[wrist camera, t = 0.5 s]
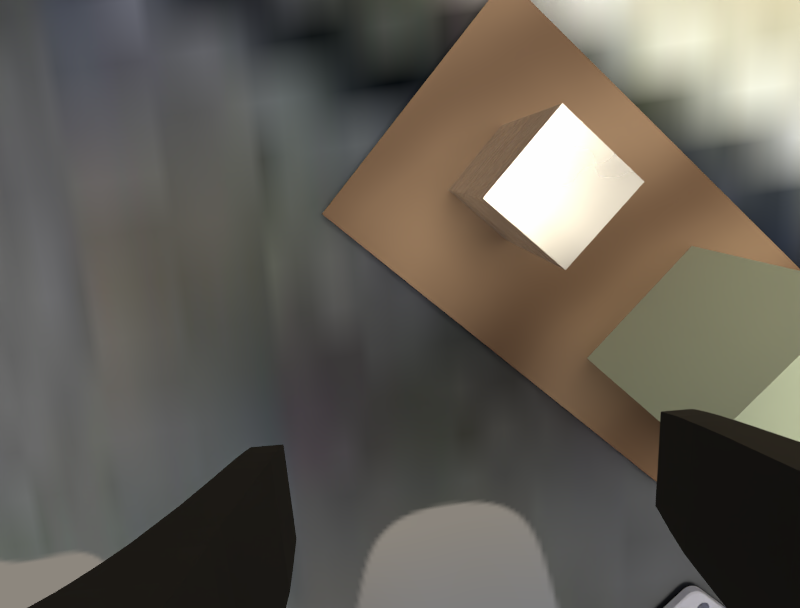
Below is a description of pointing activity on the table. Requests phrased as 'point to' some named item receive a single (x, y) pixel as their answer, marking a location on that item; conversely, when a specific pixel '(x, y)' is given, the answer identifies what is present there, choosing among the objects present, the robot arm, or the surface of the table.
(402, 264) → the board
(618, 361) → the pale green block
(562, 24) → the table surface
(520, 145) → the post
